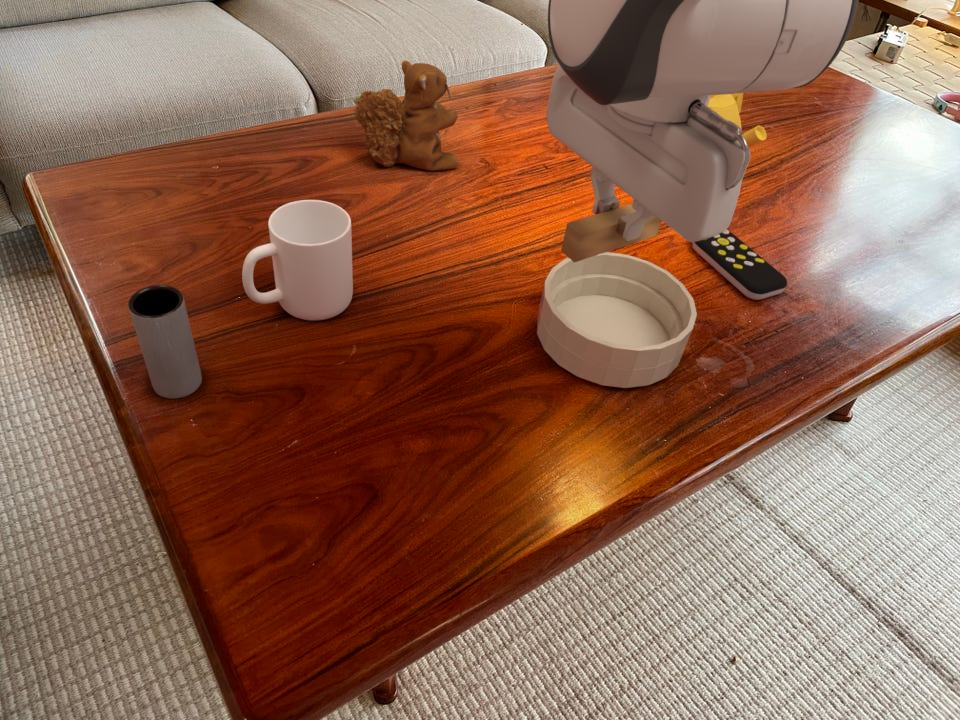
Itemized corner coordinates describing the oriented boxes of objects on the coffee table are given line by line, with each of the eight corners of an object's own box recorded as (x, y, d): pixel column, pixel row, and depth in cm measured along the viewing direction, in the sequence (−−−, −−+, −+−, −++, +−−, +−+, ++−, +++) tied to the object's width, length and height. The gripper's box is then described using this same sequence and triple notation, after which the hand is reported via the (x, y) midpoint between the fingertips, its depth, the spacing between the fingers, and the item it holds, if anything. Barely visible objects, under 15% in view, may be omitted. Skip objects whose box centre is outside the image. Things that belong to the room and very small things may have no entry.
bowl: (709, 361, 81) (728, 320, 77) (596, 411, 74) (610, 369, 70) (616, 279, 90) (628, 238, 86) (508, 316, 83) (515, 274, 79)
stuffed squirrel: (464, 169, 106) (472, 79, 96) (368, 180, 101) (368, 87, 92) (440, 136, 112) (445, 49, 103) (349, 145, 107) (347, 55, 98)
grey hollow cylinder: (160, 405, 69) (135, 323, 62) (147, 374, 71) (121, 292, 64) (208, 389, 71) (190, 308, 64) (194, 360, 73) (174, 278, 66)
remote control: (751, 304, 89) (757, 291, 88) (686, 245, 97) (690, 233, 96) (788, 293, 92) (794, 280, 90) (721, 237, 99) (726, 224, 98)
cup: (367, 306, 82) (366, 230, 75) (266, 344, 76) (255, 266, 69) (330, 267, 86) (326, 191, 79) (232, 300, 80) (219, 222, 73)
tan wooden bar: (643, 224, 70) (651, 197, 68) (657, 235, 69) (666, 208, 67) (560, 250, 66) (566, 222, 64) (574, 263, 65) (580, 235, 63)
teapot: (709, 202, 106) (735, 131, 98) (614, 147, 115) (631, 78, 107) (782, 165, 116) (811, 98, 109) (690, 118, 125) (711, 53, 118)
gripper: (786, 130, 52) (722, 281, 62) (605, 22, 64) (574, 164, 73) (725, 146, 49) (668, 303, 59) (547, 31, 61) (523, 177, 71)
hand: (615, 225), depth 66 cm, fingers closed on tan wooden bar, 2 cm apart
